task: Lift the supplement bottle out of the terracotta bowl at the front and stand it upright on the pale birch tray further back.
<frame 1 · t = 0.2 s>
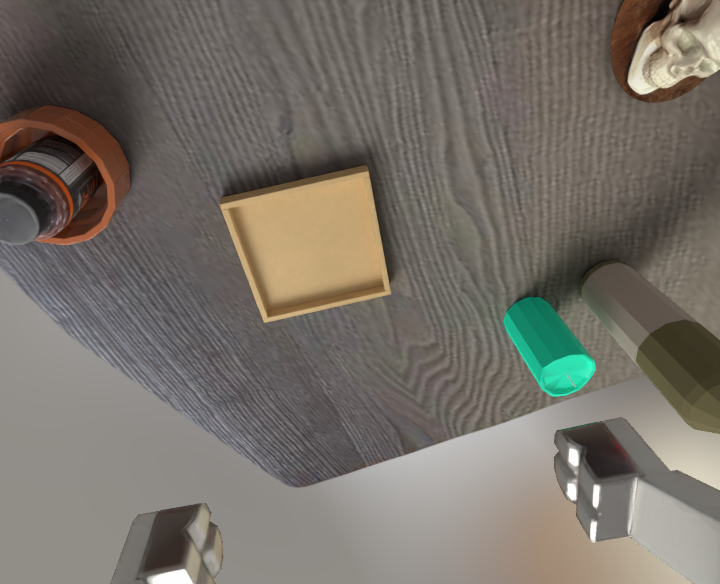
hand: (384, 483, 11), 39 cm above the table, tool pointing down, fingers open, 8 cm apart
tray: (311, 245, 51), on the table
bowl: (68, 166, 44), on the table
supplement bottle: (68, 166, 44), resting on bowl
candle: (526, 316, 60), on the table
skull: (670, 28, 44), on the table
bottle: (600, 279, 58), on the table
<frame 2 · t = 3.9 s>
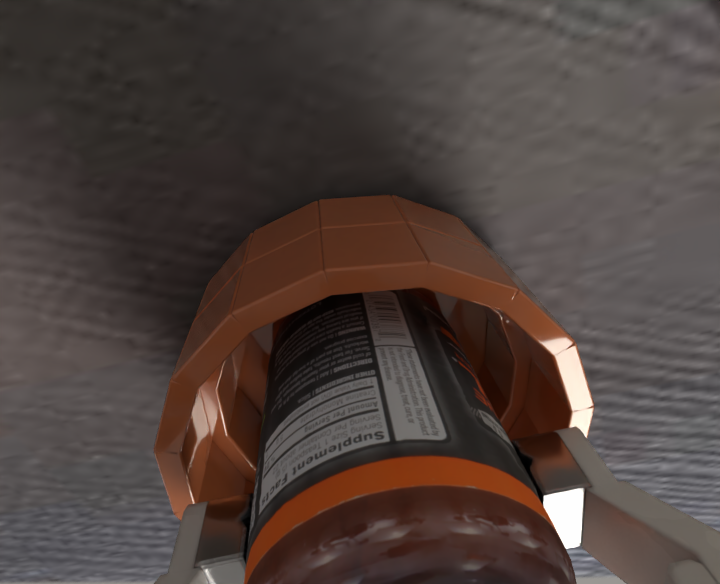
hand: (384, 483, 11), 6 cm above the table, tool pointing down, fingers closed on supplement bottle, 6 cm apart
bowl: (361, 346, 16), on the table
supplement bottle: (361, 348, 16), resting on bowl, touching gripper
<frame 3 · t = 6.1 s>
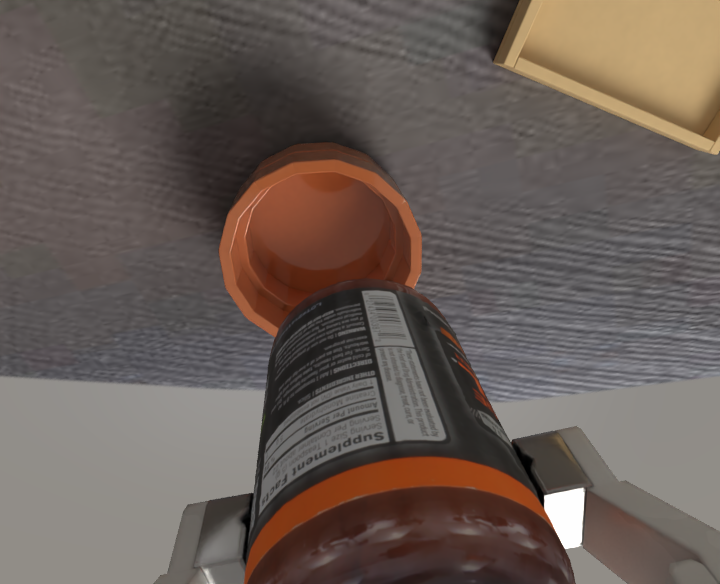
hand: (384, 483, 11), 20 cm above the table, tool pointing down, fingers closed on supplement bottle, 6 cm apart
bowl: (320, 229, 30), on the table
supplement bottle: (361, 348, 16), point 15 cm above the table, touching gripper
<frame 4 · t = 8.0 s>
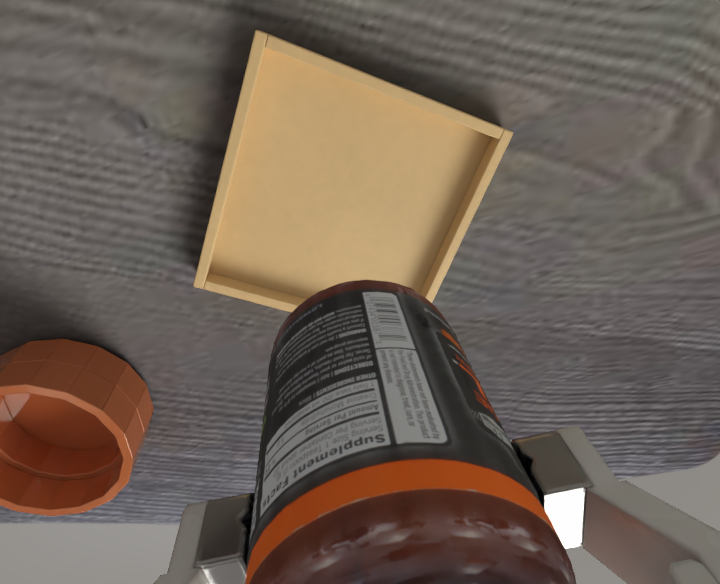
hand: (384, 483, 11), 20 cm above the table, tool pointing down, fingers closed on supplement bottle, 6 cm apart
tray: (344, 203, 29), on the table
bowl: (74, 400, 34), on the table
supplement bottle: (361, 349, 16), point 15 cm above the table, touching gripper
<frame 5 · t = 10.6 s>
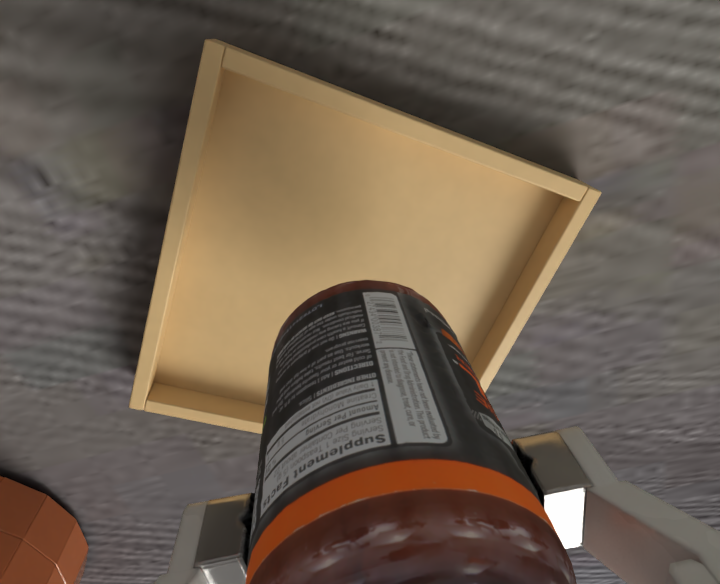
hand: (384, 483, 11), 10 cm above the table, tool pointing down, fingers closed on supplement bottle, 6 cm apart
tray: (347, 286, 20), on the table
supplement bottle: (362, 349, 16), point 5 cm above the table, touching gripper
when the fingers open (6 cm above the table, at t = 12.6 s): supplement bottle stays where it is, resting on tray.
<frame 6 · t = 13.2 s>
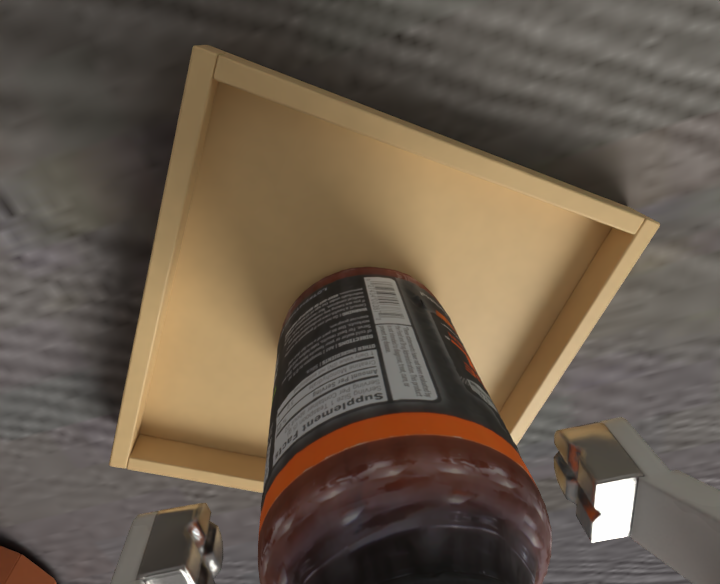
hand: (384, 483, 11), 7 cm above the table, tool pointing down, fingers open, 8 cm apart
tray: (360, 327, 18), on the table
supplement bottle: (363, 333, 17), resting on tray
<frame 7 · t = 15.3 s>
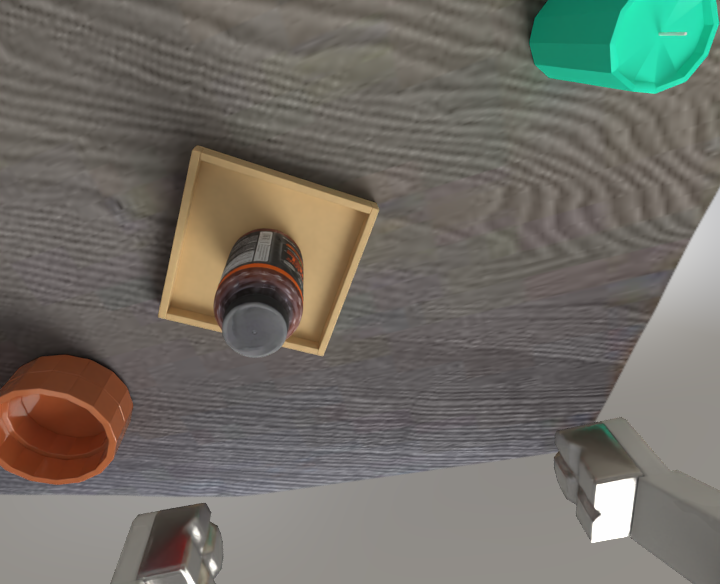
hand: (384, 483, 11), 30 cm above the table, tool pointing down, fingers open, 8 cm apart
tray: (266, 256, 40), on the table
bowl: (73, 400, 45), on the table
supplement bottle: (267, 258, 40), resting on tray
candle: (568, 34, 35), on the table
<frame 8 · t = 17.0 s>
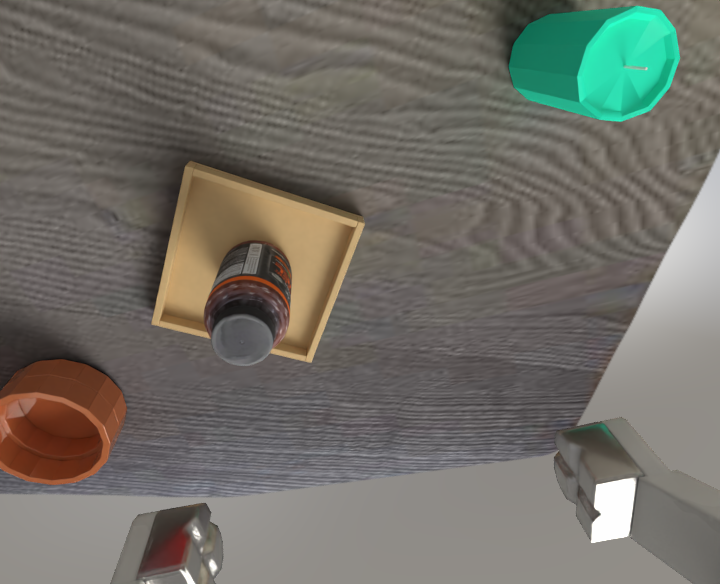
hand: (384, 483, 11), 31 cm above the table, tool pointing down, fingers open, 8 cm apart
tray: (256, 266, 42), on the table
bowl: (69, 402, 46), on the table
supplement bottle: (257, 269, 42), resting on tray
candle: (546, 59, 37), on the table
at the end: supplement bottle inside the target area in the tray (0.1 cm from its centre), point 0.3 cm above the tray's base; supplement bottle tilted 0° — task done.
